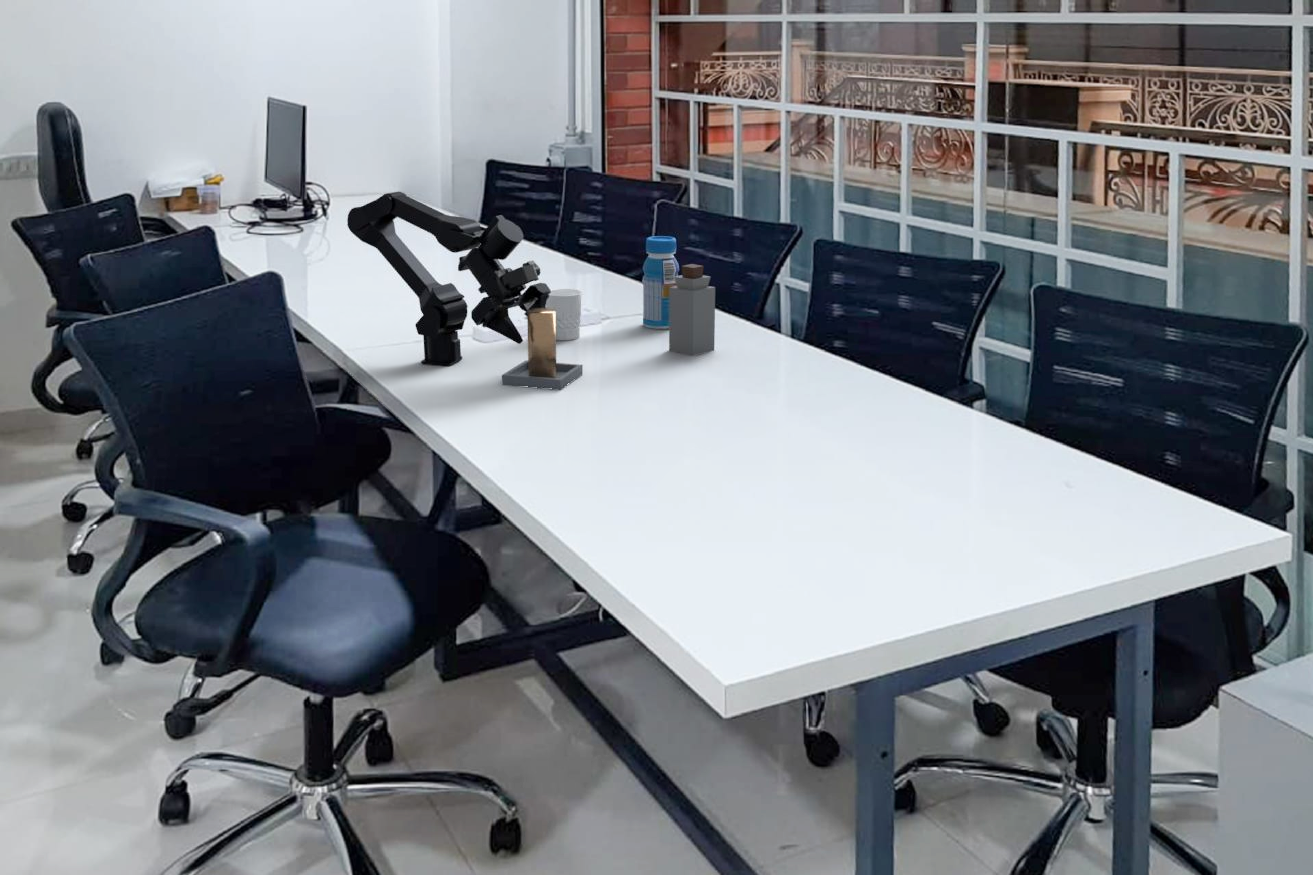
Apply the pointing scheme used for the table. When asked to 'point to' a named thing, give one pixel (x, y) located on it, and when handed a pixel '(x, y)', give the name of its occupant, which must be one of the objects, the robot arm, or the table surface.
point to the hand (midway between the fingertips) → (536, 337)
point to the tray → (522, 378)
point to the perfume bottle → (692, 312)
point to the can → (541, 342)
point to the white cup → (566, 312)
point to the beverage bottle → (658, 280)
